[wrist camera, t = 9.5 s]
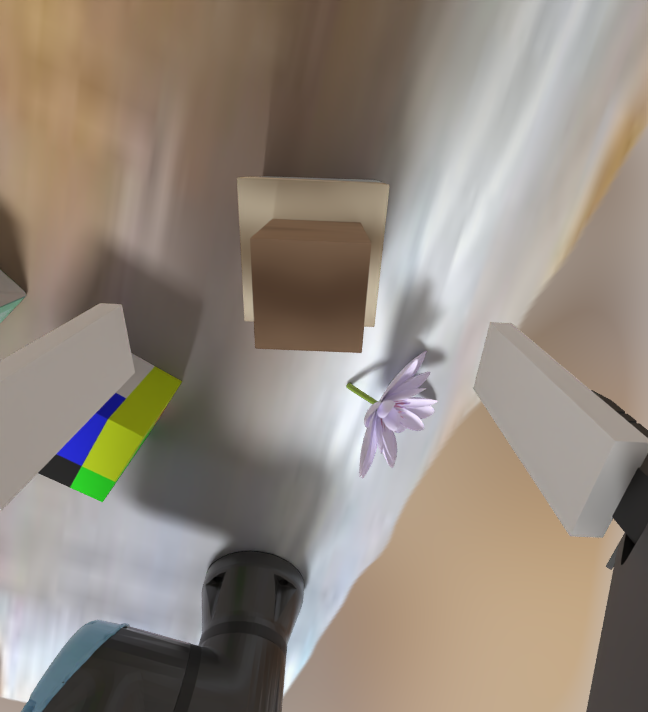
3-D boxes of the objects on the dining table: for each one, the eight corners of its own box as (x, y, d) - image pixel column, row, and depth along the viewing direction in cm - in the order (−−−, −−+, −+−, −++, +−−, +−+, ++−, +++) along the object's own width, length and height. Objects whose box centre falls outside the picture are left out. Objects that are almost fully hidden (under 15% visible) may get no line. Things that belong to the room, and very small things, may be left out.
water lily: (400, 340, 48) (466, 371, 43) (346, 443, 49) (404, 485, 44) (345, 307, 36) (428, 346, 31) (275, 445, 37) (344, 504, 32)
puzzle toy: (97, 333, 41) (31, 380, 32) (182, 381, 43) (143, 437, 34) (66, 397, 44) (-1, 455, 35) (146, 438, 47) (102, 502, 38)
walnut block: (354, 306, 29) (361, 352, 21) (274, 302, 29) (255, 348, 21) (360, 222, 26) (371, 243, 19) (272, 218, 26) (249, 238, 19)
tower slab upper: (368, 306, 34) (374, 327, 29) (256, 300, 34) (244, 321, 29) (380, 182, 29) (389, 184, 25) (251, 176, 29) (236, 177, 25)
